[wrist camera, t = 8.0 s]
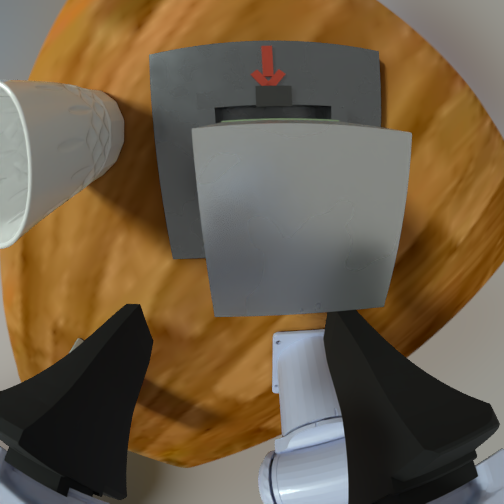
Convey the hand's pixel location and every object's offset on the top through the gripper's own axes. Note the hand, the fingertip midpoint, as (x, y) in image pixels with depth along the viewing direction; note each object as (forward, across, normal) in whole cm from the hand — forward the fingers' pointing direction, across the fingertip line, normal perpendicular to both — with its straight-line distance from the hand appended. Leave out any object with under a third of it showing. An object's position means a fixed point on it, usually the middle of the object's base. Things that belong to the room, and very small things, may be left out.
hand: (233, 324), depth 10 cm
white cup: (+10, +11, -8) cm, 17 cm away
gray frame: (+10, -2, -5) cm, 11 cm away
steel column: (+4, -2, -5) cm, 7 cm away
